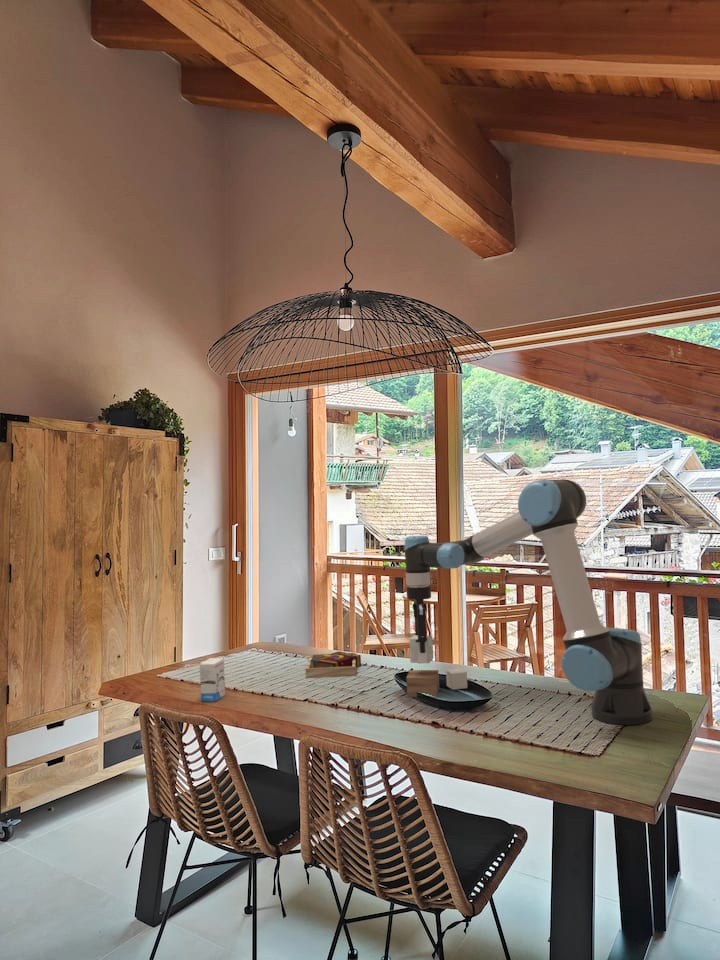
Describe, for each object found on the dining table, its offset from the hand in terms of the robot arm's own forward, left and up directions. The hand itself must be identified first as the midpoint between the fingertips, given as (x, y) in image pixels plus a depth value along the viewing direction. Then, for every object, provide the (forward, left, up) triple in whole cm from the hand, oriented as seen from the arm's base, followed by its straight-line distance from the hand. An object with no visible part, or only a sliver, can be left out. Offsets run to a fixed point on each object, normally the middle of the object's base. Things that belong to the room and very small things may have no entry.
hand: (421, 659), depth 214 cm
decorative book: (+35, +29, -11) cm, 47 cm away
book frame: (+35, +30, -10) cm, 47 cm away
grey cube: (+5, -11, -10) cm, 16 cm away
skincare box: (0, 0, -1) cm, 1 cm away
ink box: (+4, +66, -10) cm, 67 cm away
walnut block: (0, 0, -10) cm, 10 cm away
